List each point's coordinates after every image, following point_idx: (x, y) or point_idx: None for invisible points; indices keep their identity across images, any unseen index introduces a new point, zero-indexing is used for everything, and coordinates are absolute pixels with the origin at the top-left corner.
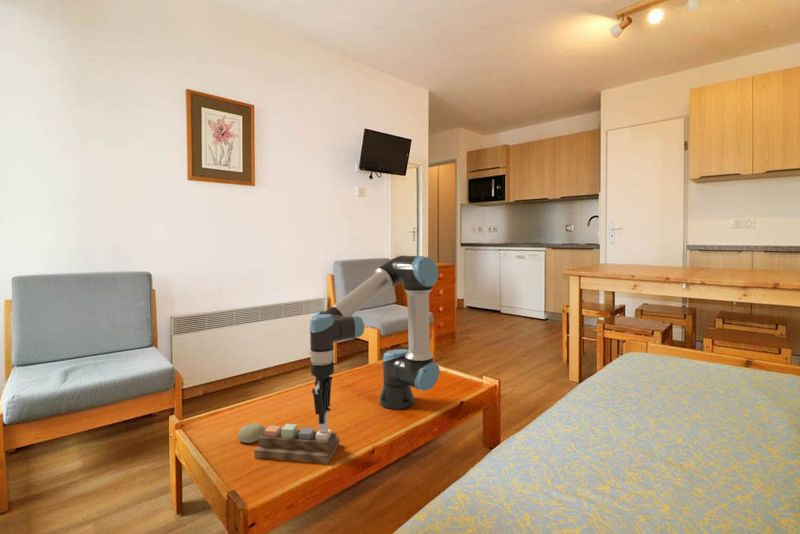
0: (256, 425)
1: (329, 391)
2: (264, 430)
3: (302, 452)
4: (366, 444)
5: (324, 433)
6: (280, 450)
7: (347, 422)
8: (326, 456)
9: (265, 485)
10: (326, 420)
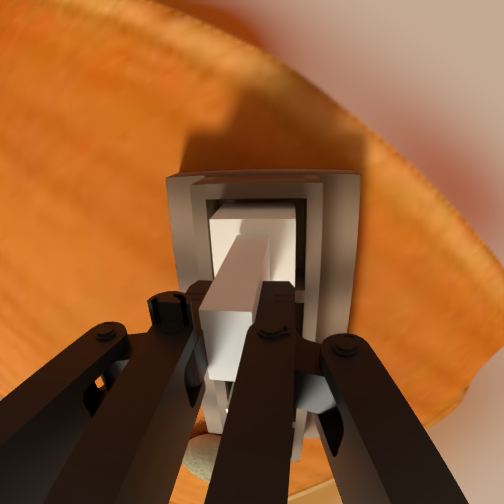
0: (209, 472)
1: (1, 449)
2: (204, 447)
3: (337, 305)
4: (155, 50)
5: (273, 245)
6: None
7: (28, 209)
8: (359, 182)
9: (467, 336)
10: (254, 272)
